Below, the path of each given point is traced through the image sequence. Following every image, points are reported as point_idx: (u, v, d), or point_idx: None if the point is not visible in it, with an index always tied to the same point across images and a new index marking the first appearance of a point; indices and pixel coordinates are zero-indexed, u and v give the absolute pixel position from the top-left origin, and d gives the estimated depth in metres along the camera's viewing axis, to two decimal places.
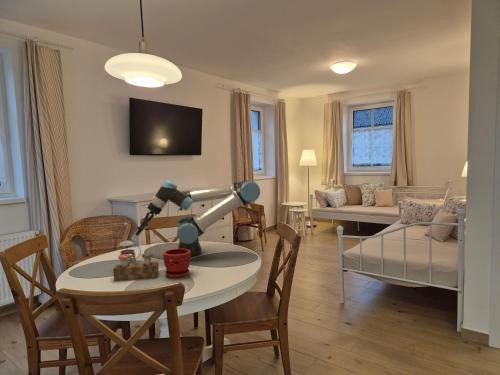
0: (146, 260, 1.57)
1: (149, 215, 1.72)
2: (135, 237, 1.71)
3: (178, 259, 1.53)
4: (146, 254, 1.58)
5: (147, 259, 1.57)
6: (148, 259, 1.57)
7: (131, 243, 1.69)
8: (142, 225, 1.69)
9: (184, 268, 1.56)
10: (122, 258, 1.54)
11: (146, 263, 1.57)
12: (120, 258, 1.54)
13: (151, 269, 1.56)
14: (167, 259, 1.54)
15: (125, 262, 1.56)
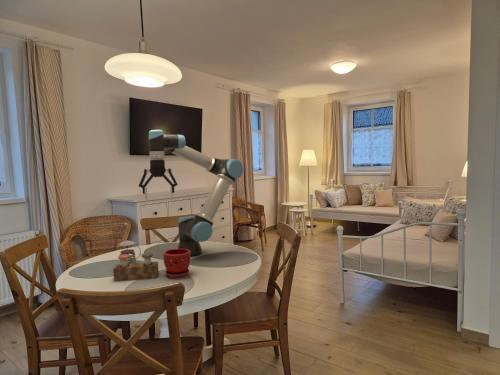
0: (146, 260, 1.57)
1: (170, 169, 1.71)
2: (172, 195, 1.72)
3: (178, 259, 1.53)
4: (146, 254, 1.58)
5: (147, 259, 1.57)
6: (148, 259, 1.57)
7: (131, 243, 1.69)
8: (175, 181, 1.71)
9: (184, 268, 1.56)
10: (122, 258, 1.54)
11: (146, 263, 1.57)
12: (120, 258, 1.54)
13: (151, 269, 1.56)
14: (167, 259, 1.54)
15: (125, 262, 1.56)
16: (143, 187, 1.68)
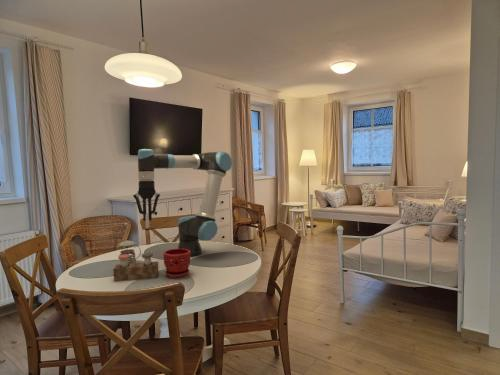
0: (146, 260, 1.57)
1: (159, 196, 1.60)
2: (149, 223, 1.60)
3: (178, 259, 1.53)
4: (146, 254, 1.58)
5: (147, 259, 1.57)
6: (148, 259, 1.57)
7: (131, 243, 1.69)
8: (155, 208, 1.60)
9: (184, 268, 1.56)
10: (122, 258, 1.54)
11: (146, 263, 1.57)
12: (120, 258, 1.54)
13: (151, 269, 1.56)
14: (167, 259, 1.54)
15: (125, 262, 1.56)
16: (144, 213, 1.58)
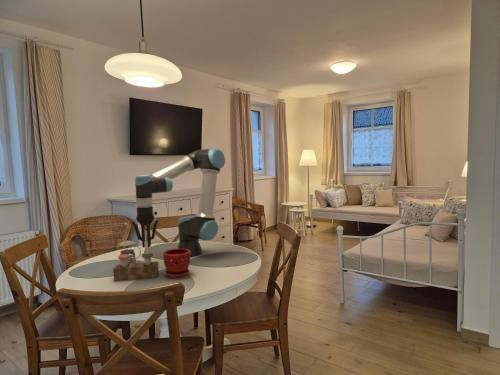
0: (146, 260, 1.57)
1: (158, 221, 1.58)
2: (148, 249, 1.58)
3: (178, 259, 1.53)
4: (146, 254, 1.58)
5: (147, 259, 1.57)
6: (148, 259, 1.57)
7: (131, 243, 1.69)
8: (154, 234, 1.58)
9: (184, 268, 1.56)
10: (122, 258, 1.54)
11: (146, 263, 1.57)
12: (120, 258, 1.54)
13: (151, 269, 1.56)
14: (167, 259, 1.54)
15: (125, 262, 1.56)
16: (143, 240, 1.56)
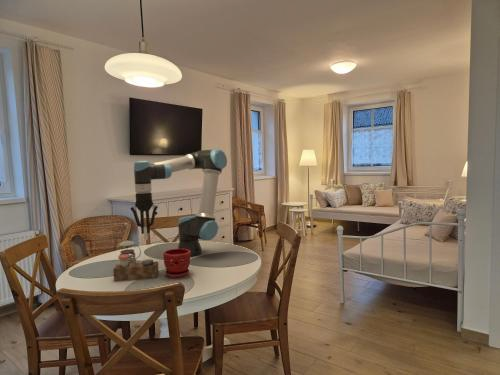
0: None
1: None
2: (147, 236, 1.58)
3: (178, 259, 1.53)
4: (146, 261, 1.58)
5: None
6: None
7: (131, 243, 1.69)
8: (153, 220, 1.58)
9: (184, 268, 1.56)
10: (122, 258, 1.54)
11: None
12: (120, 258, 1.54)
13: (151, 269, 1.56)
14: (167, 259, 1.54)
15: (125, 262, 1.56)
16: (142, 226, 1.56)
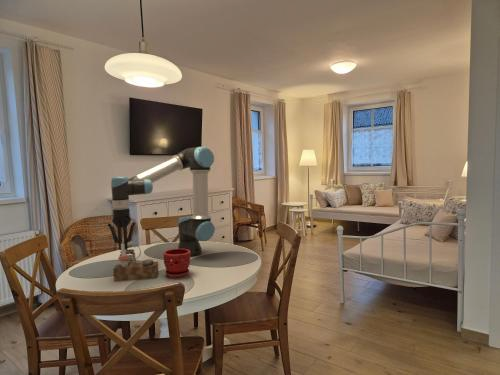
0: None
1: None
2: (125, 252, 1.57)
3: (178, 259, 1.53)
4: (146, 261, 1.58)
5: None
6: None
7: (131, 243, 1.69)
8: (131, 236, 1.56)
9: (184, 268, 1.56)
10: (122, 259, 1.54)
11: None
12: (120, 259, 1.54)
13: (151, 269, 1.56)
14: (167, 259, 1.54)
15: (125, 263, 1.56)
16: (120, 242, 1.54)
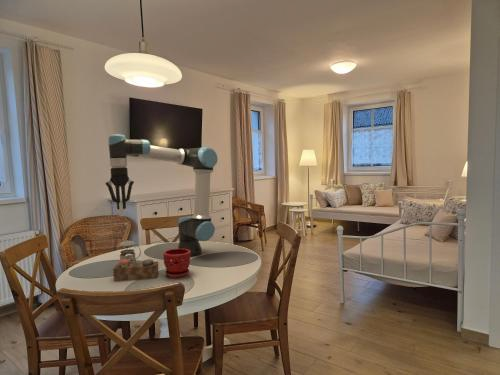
0: None
1: (133, 183, 1.55)
2: (123, 212, 1.55)
3: (178, 259, 1.53)
4: (146, 261, 1.58)
5: None
6: None
7: (131, 243, 1.69)
8: (129, 196, 1.55)
9: (184, 268, 1.56)
10: (122, 263, 1.54)
11: None
12: (120, 263, 1.54)
13: (151, 269, 1.56)
14: (167, 259, 1.54)
15: None
16: (118, 202, 1.53)
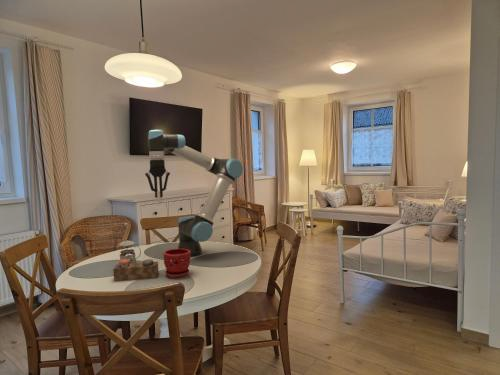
0: None
1: (169, 174, 1.70)
2: (160, 200, 1.71)
3: (178, 259, 1.53)
4: (146, 261, 1.58)
5: None
6: None
7: (131, 243, 1.69)
8: (166, 185, 1.71)
9: (184, 268, 1.56)
10: (122, 263, 1.54)
11: None
12: (120, 263, 1.54)
13: (151, 269, 1.56)
14: (167, 259, 1.54)
15: None
16: (156, 191, 1.69)
